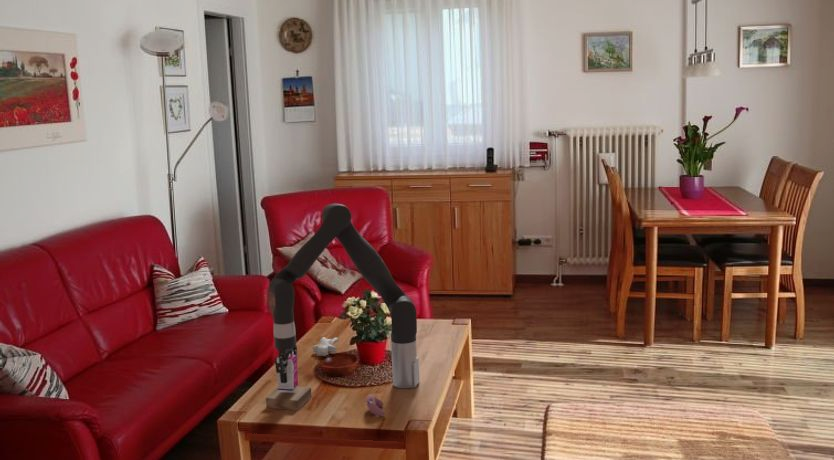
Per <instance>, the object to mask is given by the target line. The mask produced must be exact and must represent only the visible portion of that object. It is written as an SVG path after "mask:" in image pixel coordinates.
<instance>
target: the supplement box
mask: <svg viewBox="0 0 834 460" xmlns="http://www.w3.org/2000/svg"><path fill="white" fill-rule="evenodd" d="M286 361H287V360H286ZM286 361H283V364H286ZM298 372H299V371H298V354H297V355H293V356H290V359H288V366H287V372H286V373H287V383H281V380H280V373H277V372H276V374H277V376H276V377H277V388H278V390H287V391H293V390H294V388H295V387H298V385H299V375H298Z"/></svg>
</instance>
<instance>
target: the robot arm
mask: <svg viewBox="0 0 834 460" xmlns="http://www.w3.org/2000/svg"><path fill="white" fill-rule="evenodd" d="M321 220H322V223H321V225H320V227H319V228H318V229H317V231H316V232H315V233H314V234H313V235H312V236H311V237H310V238H309V240H307V241H306V242H305V243H304V244H303V245H302V246H301V247H300V248H299V249H298V250H297V251H296V253H294V255H293V257H292V258H290V261H289V262H288V264H286V265H285V266H284V267H282V269H281V270H280V271H278V272H277V274H275V276H273V278H272V279H271V281H270V283H269V287H268V289H269V292H270V293H271V295H272V296H274V301H275V302H274V303H275V305H274V306H273V309H272V315H273V317H272V319H273V327H272V328H273V341H274V348H275V349H276V350H278V356H277V357H274V364H275V372H276V374H277V373H280V380H281V383H287V373H286V372H287V366H288V359H290V356H293V355H297V356H298V346H297V335H296V325H295V316H294V315H295V313H294V305H295V288H294V285H293V284H294V283H295V282H296V281H297V280H299V279H302V278H303V277H305V276H306V274H307V273H308V271H309V270H310V269H311V267H312V266H313V265H314V263H316V261H317V259H319V257H320V256H321V254H322V253H323V252H324V251H325V249H326V248H327V247H328V246H329V245H330V244H331V243H332V242H333V241H334V239H337V240H338V241H339V242H340V244H341V245H342V247H343V249H344V251H345V252H346V253H347V255H348V257H349V258H350V261H351V262H352V263H353V265H354V266H355V268H356V269H357V270H358V272H359V274H360V275H361V276H362V277H363V278H364V280H366V282H367V283H368V284H369V285H370V286H371V287H372V288H374V289H375V291H376V292H377V293H378V294H379V296H380V297H381V298H382V300H383V302H384V304H385V306H386V307H387V310H388V311H389V314H390V317H391V320H390V321H391V332H390V344H391V345H390V346H391V368H392V385H393V387H394V388H397V389H411V388H412V389H414V388H416V387H418V384H419V383H420V369H419V368H420V364H419V362H420V359H419V357H418V356H417V355H418V353H417V333H418V329H417V328H418V324H417V323H418V321H417V320H418V319H417V316H418V315H417V308H416V305H415V304H414V303H413V301H412V299H411V298H410V297H409V296H408V295H407V293H405V292H404V291H403V290H402V288H401V287H400V286H399V285H398V283H397V282H396V281H395V279H394V278H393V276H392V273H391V271H390V270H389V268H388V267H387V266H388V265H386V263H385V262H384V260H383V258H382V257H381V255H380V254H379V253H378V252H377V250H376V249H375V248H374V246H372V244H370V243H369V242H368V241H367V240H366V239H365V238H364V237H363V236H362V235H361V234H360V233H359V231H358V230H357V228H355V226H354V224H353V223H352V213H351V210H350V209H349V208H348V206H346V205H344V204H341V203H330V204H327V205H326V206H325V207H324V208H323V209H322V212H321ZM286 360H287V361H286ZM283 361H286V364H283Z"/></svg>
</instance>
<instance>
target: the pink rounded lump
mask: <svg viewBox="0 0 834 460" xmlns="http://www.w3.org/2000/svg"><path fill="white" fill-rule="evenodd" d="M365 398H366V406H367V408H368V409H367V410H369V412H370V413H371V414H372V415H375V416H377V417H384V416H385V411H384V410H383V409H382V407H383V406H384V402H383V401H382V400H381V399H380V398H377V397H376V396H375V395H374V394H372V393H371V394H368V395H366V397H365Z"/></svg>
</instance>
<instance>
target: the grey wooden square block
mask: <svg viewBox="0 0 834 460" xmlns="http://www.w3.org/2000/svg"><path fill="white" fill-rule="evenodd" d="M312 396H313V395H312V387H307V386H306V387H305V386H296V387H295V388H294V390H293V391H287V390H278V387H276V389H274V390H273V391H272V392H270V394H268V395H267V396H266V397H265V404H266V406H265V407H267V409H276V408H278V409H280V410H286V411H287V410H289V411H299V410H300V409H301V408H302V407H303V406H304V405H305V404H306V403H307V402H308V401H310V399H311V398H312Z"/></svg>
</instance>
